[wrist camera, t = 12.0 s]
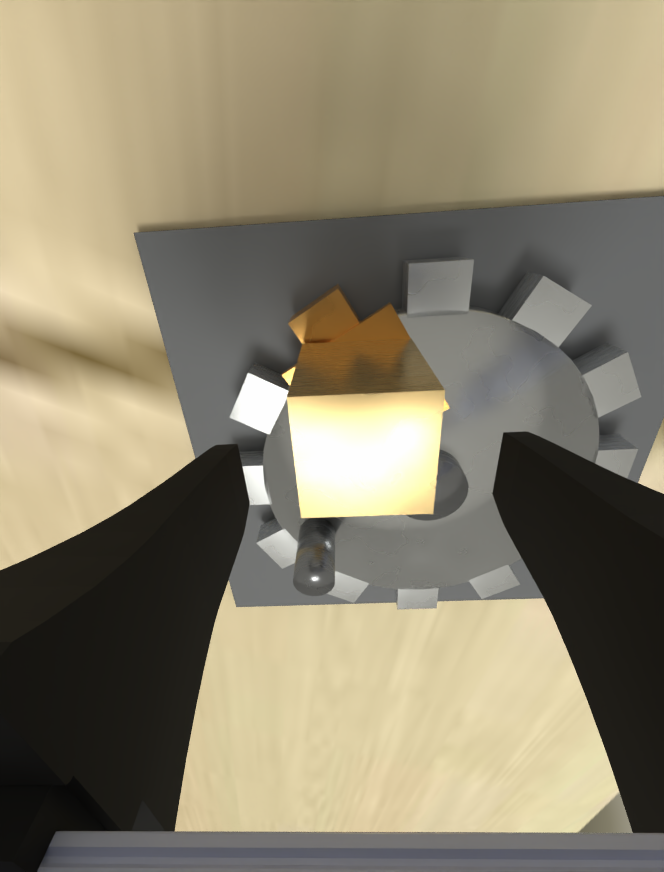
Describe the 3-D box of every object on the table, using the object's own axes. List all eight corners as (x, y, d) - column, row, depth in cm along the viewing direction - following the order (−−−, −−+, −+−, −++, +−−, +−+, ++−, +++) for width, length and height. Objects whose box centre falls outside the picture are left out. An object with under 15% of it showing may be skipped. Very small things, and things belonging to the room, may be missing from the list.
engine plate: (744, 190, 14) (754, 189, 13) (588, 591, 24) (592, 596, 23) (138, 232, 14) (133, 232, 14) (237, 601, 25) (236, 607, 24)
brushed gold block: (411, 338, 14) (445, 390, 10) (406, 434, 16) (433, 513, 12) (302, 343, 14) (286, 397, 10) (311, 438, 16) (300, 517, 12)
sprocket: (541, 140, 12) (631, 104, 9) (659, 506, 20) (735, 573, 16) (151, 414, 17) (100, 466, 14) (359, 626, 25) (363, 698, 21)
